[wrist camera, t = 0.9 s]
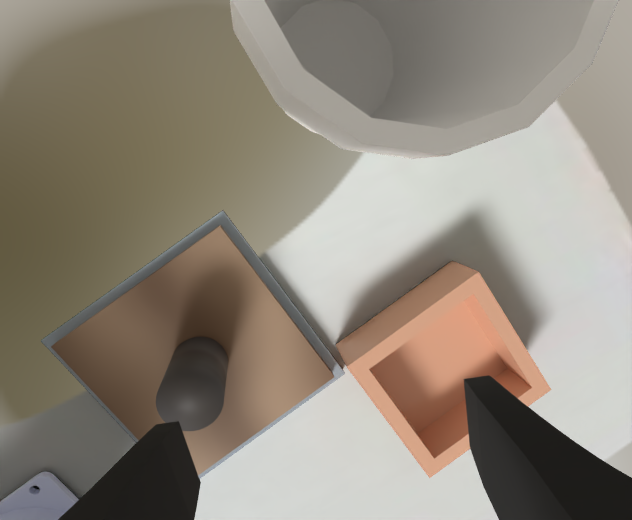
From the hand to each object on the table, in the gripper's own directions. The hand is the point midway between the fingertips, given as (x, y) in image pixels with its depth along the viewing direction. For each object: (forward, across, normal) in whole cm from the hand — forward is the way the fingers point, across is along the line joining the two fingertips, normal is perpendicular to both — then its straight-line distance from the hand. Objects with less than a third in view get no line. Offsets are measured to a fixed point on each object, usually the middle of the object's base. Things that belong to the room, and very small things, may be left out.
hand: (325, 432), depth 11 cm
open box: (+14, -5, +7) cm, 16 cm away
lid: (+11, +7, +4) cm, 14 cm away
